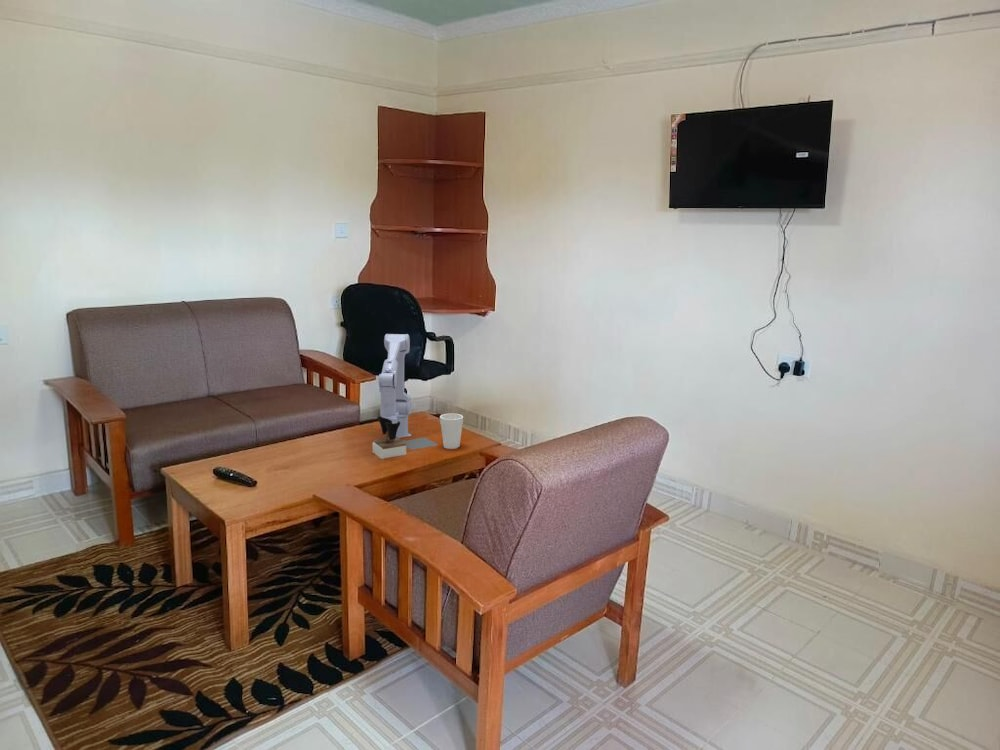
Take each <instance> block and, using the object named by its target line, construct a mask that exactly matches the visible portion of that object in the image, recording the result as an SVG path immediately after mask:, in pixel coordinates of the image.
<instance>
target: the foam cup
mask: <svg viewBox="0 0 1000 750" xmlns="http://www.w3.org/2000/svg"><path fill="white" fill-rule="evenodd" d="M439 423H440V427H441V428H440V429H441V436H442V437H441V438H442V442H443V443H442V444H443V448H445V449H447V450H455V449H458V447H459V448H460V444H461V438H462V433H463V432H462V430H463V423H464V415H462V414H459V413H444V414H440V415H439Z"/></svg>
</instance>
